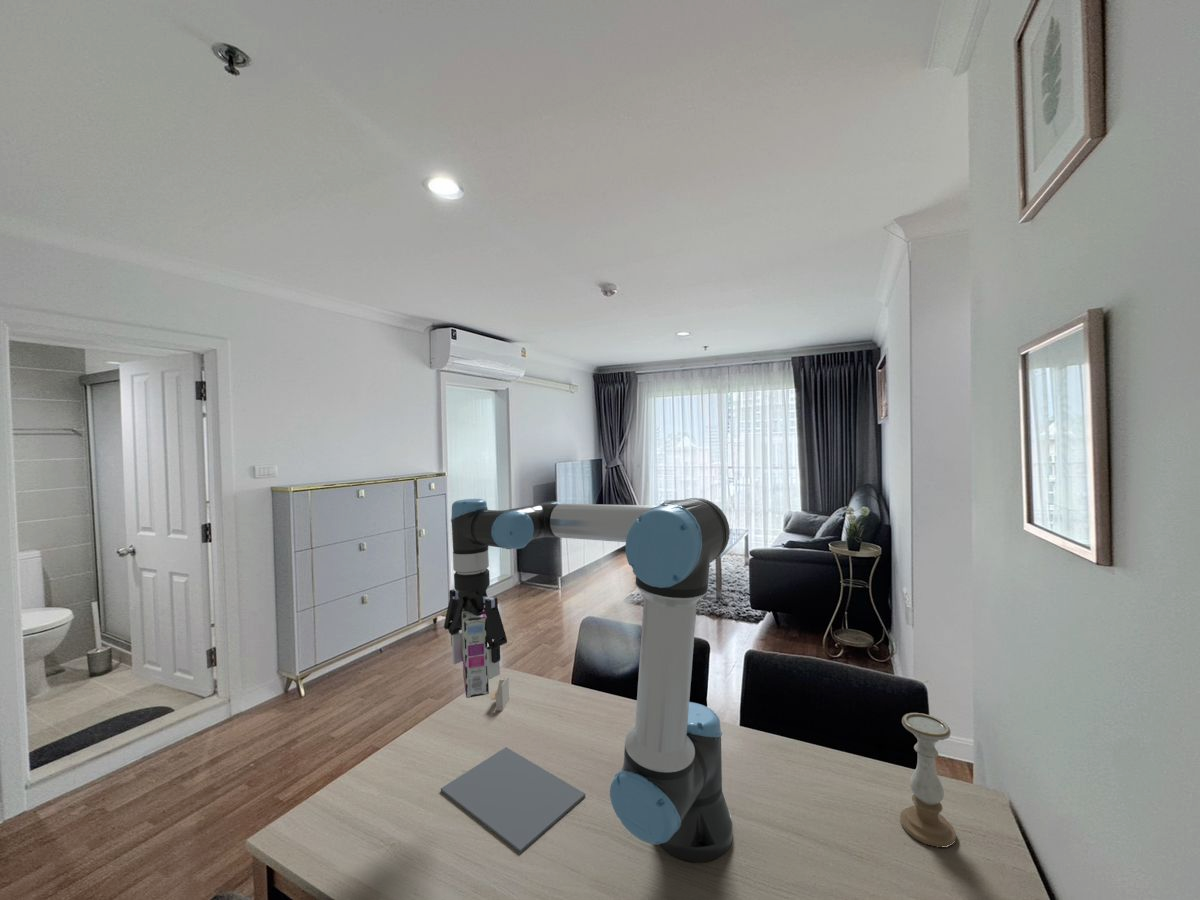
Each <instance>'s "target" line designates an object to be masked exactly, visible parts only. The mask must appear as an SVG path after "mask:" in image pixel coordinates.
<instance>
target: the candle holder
mask: <svg viewBox="0 0 1200 900" xmlns="http://www.w3.org/2000/svg"><path fill="white" fill-rule="evenodd" d="M901 723H902V726H903V727H904V729H905V730H907V731H908V732H910V733H911V734H913V735H914V737H915V738H916V739H917V742H916V743H915V744H914V746H913V749H914V751H915V752H916V753H917V761H916V762H917V763H916V768H915V769H914V771H913V772H912V775H911V776H910V778H909V787H910V790H911V791H912V792H911V793H913V795H912V796H911V801H912V802H913V804H914V805H911V806H908V807H906V808H904V809H902V810H901V812H900V814H899V821H900V824H901V827H902V828H903V829H904V830H905V832H906V833H907V834H908V835H910V836H911V838H913V839H915V840H916V841H918V842H921V843H922V844H924V845H927V844H928V845H927V846H929V845H932V846H931V847H933V846H938V847H942V846H947V845H950V844H952V843H953V842H954V841H955V839H956V840H957V833H956V829H955V828H954V826H953V825H952V824H951V823H950V822H949V821H948V820H947V819H946V818H945V817H944V815H942V814H941V812H942V811H943V804H942V803H941V802H942V801H943V799H944V797H945V789H944V787H943V783H942V781H941V780H940V778H939V776H938V772H937V768H936V758H938V757H939V751H938V750H937V748H936V746H935V745H936V743H938V742H939V741H944V740H947V739H949V738H950V737H951V729H950V727H949V726H948V724H947V723H946V722H944V721H943V720H941V719H939V718H938V717H935V716H934V715H933V716H932V715H930V714H925V713H922V712H921V713H919V712H909V713H905V714H904V715H903V716H902V718H901ZM955 842H956V841H955ZM938 847H937V848H938Z"/></svg>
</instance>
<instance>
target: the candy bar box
mask: <svg viewBox="0 0 1200 900" xmlns="http://www.w3.org/2000/svg"><path fill="white" fill-rule="evenodd" d="M482 612H484V609H483V611H482ZM480 613H481V612H480ZM486 630H487V616H486V614H482V615H479V616H476V615H473V613H471V612H468V611H465V610H464V609H463V610H462V630H461V631H462V651H463V661H462V673H463V674H462V675H463V683H464V684H463V685H464V690H465V691H464V693H465V698H467V699H469V698H475V697H480V696H486V695H489V693H490V691H489V689H490V688H489V679H488V678H487V653H486V648H487V647H488V646H489V645H488V642H487V640H486Z"/></svg>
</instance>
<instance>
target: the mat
mask: <svg viewBox="0 0 1200 900" xmlns="http://www.w3.org/2000/svg"><path fill="white" fill-rule="evenodd" d="M440 792H441V793H443V794H444V795H445V796H446V797H448V798H449V799H450V800H451V801H453V803H455V804H456V805H458V806H459V807H461V808H462V809H463V810H464V811H466V812H467V813H468V814H469V815H471V816H472V817H474V818H475V820H478V822H479V823H481V824H482V825H484V826H485V827H486V828H487V829H488V830H490V831H491V832H493V833H494V834H495V835H496V836H498V837H499V838H501V839H502V840H503V841H504V842H505V843H507V845H509V846H510V847H512V848H513V849H514V850H516V851H517V852H518V853H520V854H522V853H523V851H525V850H526V849H527V848H528V847H529V846H531V845H532V843H534V842H535V841H536V840H537V839H538V838H539V837H541V836H542V835H543V834H544V833H545V832H547V831H548V830H549V829H550V828H551V827H553V825H554V824H556V823H557V822H559V820H561V819H562V817H564V816H565V815H566V814H567V813H568V812H569V811H571V810H572V809H573V808H574V807H575V806H576V805H577V804H579V802H581V801H582V800H583V799H584V798H585V797H586V793H585V792H584V791H581V790H580V789H578V788H576V787H575V786H573V785H571V783H568V782H566V781H565V780H563V779H561V778H559V777H557V776H556V775H554V774H553V773H551V772H550V771H548V770H546V769H544V768H543V767H541V766H539V765H537V764H536V763H534V762H533V761H530V760H529V759H527V758H525V756H522V755H520V754H518V753H517V752H516V751H514V750H512V749H510V748H508V747H507V746H505V747H503V748H502V749H501V750H499V751H498V752H496V753H494V754H493V755H491V756H490V757H488V758H486V759H485V760H483V761H482V762H480V763H478V764H477V765H475V766H473V767H472V768H470V769H469V770H467V771H466V772H464V773H463V774H461V775H459V776H457V777H456V778H455V779H453V780H452V781H450V782H449V783H447V784H445V785H443V786H442V787H441V788H440Z"/></svg>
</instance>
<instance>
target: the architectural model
mask: <svg viewBox="0 0 1200 900" xmlns="http://www.w3.org/2000/svg"><path fill="white" fill-rule="evenodd" d="M498 681H499V682H498V684H497V688H496V689H495V691H494V693H493V694H492V696H491V697H490V700H491V701H492V700H494V701H495V710H496V711H501V712H502V711H504V710H505V708H506V706H507V704H508V703H509V701H510V690H509V689H510V687H509V686H510V684H509V676H506V678H503V679H499V680H498Z"/></svg>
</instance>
